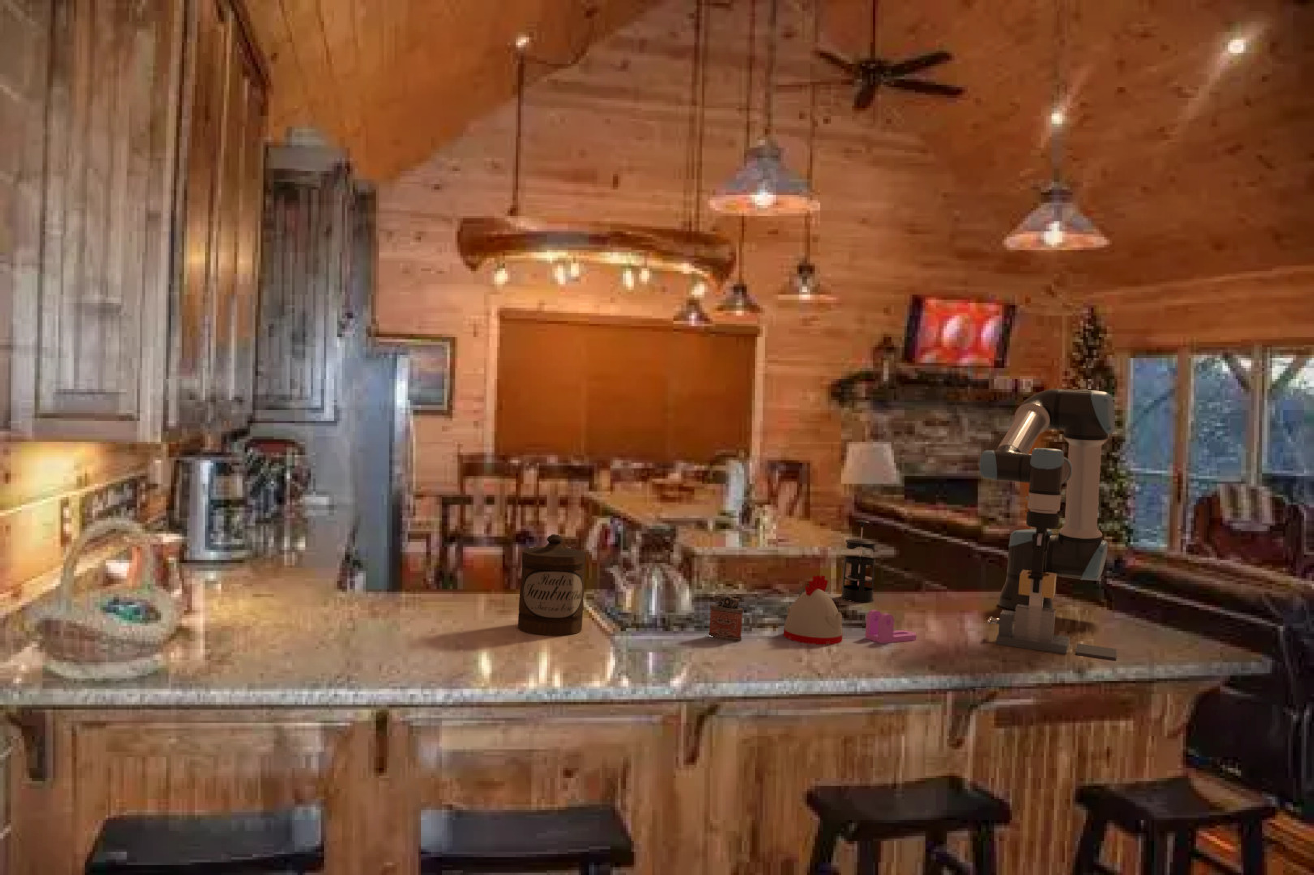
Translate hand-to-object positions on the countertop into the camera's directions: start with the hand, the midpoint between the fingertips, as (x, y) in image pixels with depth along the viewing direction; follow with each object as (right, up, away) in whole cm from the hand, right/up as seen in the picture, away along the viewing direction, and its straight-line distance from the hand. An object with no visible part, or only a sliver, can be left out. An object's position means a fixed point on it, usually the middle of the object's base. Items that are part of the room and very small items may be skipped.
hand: (1036, 602), depth 269 cm
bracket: (-36, -9, -3) cm, 37 cm away
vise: (-2, -10, +1) cm, 10 cm away
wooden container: (-118, -4, -16) cm, 119 cm away
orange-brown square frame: (0, +2, 0) cm, 2 cm away
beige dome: (-56, -7, -8) cm, 57 cm away
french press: (-35, -6, +49) cm, 61 cm away
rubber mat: (+13, -11, -5) cm, 18 cm away
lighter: (-78, -6, -15) cm, 79 cm away
